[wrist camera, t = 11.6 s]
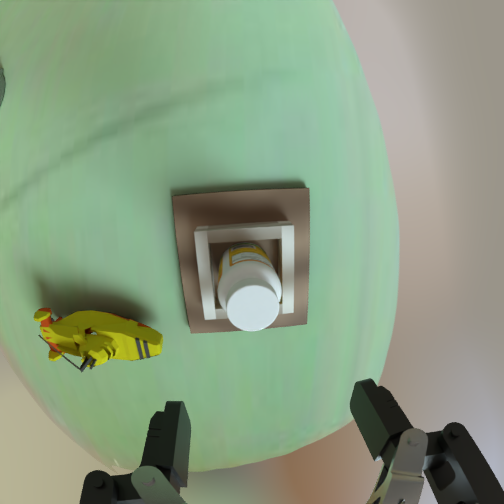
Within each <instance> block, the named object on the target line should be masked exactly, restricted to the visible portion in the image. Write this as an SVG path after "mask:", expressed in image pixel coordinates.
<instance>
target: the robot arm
mask: <svg viewBox="0 0 504 504" xmlns="http://www.w3.org/2000/svg"><path fill="white" fill-rule="evenodd" d="M2 73H3V69H2V68H0V105H1V102H2V99H3V95H4V90H5V80H4V77H3V74H2ZM350 410H351V413H352V415H353V417H354V419H355V421H356V423H357V426H358V428H359V430H360V432H361V434H362V436H363V438H364V440H365V442H366V445H367V447H368V449H369V451H370V453H371V455H372V457H373V459H374V461H377V460H380V459H382V460H383V462H384V463H383V465H382V468H381V471H380V473H379V476H378V479H377V482H376V484H375V487H374V489H373V492H372V494H371V496H370V498H369V499H368V501H367V503H366V504H418V502H419V499H420V496H421V492H422V488H423V484H424V477H422V476H421V474H422V470H423V471H424V474H425V475H426V478H427V480H428V482H429V484H430V487H431V489H432V491H433V493H434V495H435V498H436V500H437V502H438V504H504V491H503V489H502V487H501V485H500V484H499V482H498V480H497V478H496V477H495V475H494V473H493V471H492V470H491V468H490V466H489V464H488V463H487V461H486V459H485V458H484V456H483V455H482V453H481V451H480V450H479V448H478V447H477V445H476V444H475V442H474V440H473V439H472V437H471V436H470V434H469V433H468V431H467V430H466V428H465V427H464V426H463V425H462V424H460V423H457V422H452V423H449V424H447V425H446V426H445V428H444V429H443V430H442V431H437V432H430V433H425V432H424V431H423V430H420V429H417V428H414V427H413V426H412V425H411V424H410V422H409V420H408V419H407V417H406V415H405V414H404V412H403V411H402V409H401V408H400V406H398V403H397V402H396V400H394V397H393V396H392V394H391V393H390V391H389V390H387V389H386V388H384V387H383V386H379V387H377V385H376V384H375V382H374V381H373V380H372V379H371V378H370V379H366V380H362V381H358V382H356V383H355V386H354V390H353V393H352V397H351V400H350ZM190 437H191V424H190V419H189V416H188V413H187V410H186V407H185V404H184V402H183V401H167V402H166V405H165V410H164V412H161V411H157V412H156V413H155V414H154V416H153V417H152V418H151V420H150V424H149V430H148V433H147V437H146V442H145V447H144V452H143V456H142V461H141V464H140V466H139V468H137V469H136V470H135V471H134V472H132V473H130V474H125V475H115V476H110V475H109V474H108V473H106V472H104V471H100V470H95V471H92V472H90V473H89V474H88V475H87V476H86V477H85V480H84V484H83V489H82V494H81V499H80V504H187V503H186V502H185V501H184V500H183V498H182V497H181V496H180V495H179V494H180V487H187V479H188V463H189V450H190Z"/></svg>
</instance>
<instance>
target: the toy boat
mask: <svg viewBox="0 0 504 504" xmlns="http://www.w3.org/2000/svg"><path fill="white" fill-rule="evenodd" d="M51 314H52V312H51V309H50V308H41V309H39V310H38V311H37V312H36V313H35V315H34V320H35V321H38V322H41V325H40V330H41V332H42V335H43V338H42V337H41V336H40V335H38V336H40V337H41V338H42V339H43V340H44V341H45V342H46V343H47V344H48V345H49V347H50V349H51V350H50V351H49V360H51V361H56V360H58V359H59V358H61V357H62V356H63V357H64V358H65V359H66V360H68V361H69V362H70V363H71V364H73V365H74V366H75V367H77V368H78V369H79V370H81V372H83V370H84V369H85V368H86V367H90V369H92V368H93V367H95V366H96V365H100V364H103V363H104V362H106V361H108V360H109V358H110V359H111V358H112V359H121V360H130V361H133V360H138V359H140V360H141V359H144V358H150V357H152V356H156V355H159V354H160V353H161V351H162V344H163V336H162V334H160V333H159V332H158V331H156V330H154V329H152V328H151V327H149V326H147V325H144V324H142V323H139V322H137V321H134V320H132V319H126V318H124V317H121V316H118V315H116V314H113V313H107V312H100V311H92V310H90V311H77V312H75V313H73V314H71V315H69V316H67V317H65V318H63V319H62V317H59V318H58V319H57V320H56V321H54V320H53V318H51V316H50V315H51ZM92 332H96V333H97V335H93V334H91V333H92ZM65 353H68V354H71V355H75V356H80V357H82V358H83V359H82V360H81V361H82V365H81V367H80V368H79V367H78V366H76V365H75V364H74V363H72V362H71V361H70V360H69V359H67V358H66V357H65V356H64V354H65ZM84 356H85V358H84Z"/></svg>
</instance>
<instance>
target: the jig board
mask: <svg viewBox="0 0 504 504" xmlns="http://www.w3.org/2000/svg"><path fill="white" fill-rule="evenodd" d="M172 200H173V211H174V221H175V230H176V239H177V247H178V255H179V263H180V270H181V277H182V284H183V290H184V297H185V303H186V309H187V315H188V320H189V326H190V331H191V333H212V332H229V331H243V330H241V329H239V328H237V327H236V326H234V325H233V324H232V323H231V322H230V320H229V318H228V316H227V313H226V312H225V311H224V309H223V308H222V306H221V305H220V302H219V299H218V275H219V263H220V259H221V257H222V255H223V253H224V252H225V251H226V250H227V249H228V248H229V247H231V246H232V245H234V244H237V243H242V242H247V243H252V244H255V245H257V246H259V247H260V248H262V249H263V250H264V251H265V253H266V254H267V256H268V258H269V260H270V262H271V264H272V266H273V268H274V270H275V272H276V274H277V276H278V278H279V280H280V283H281V288H282V294H281V299H280V302H279V312H278V315H277V317H276V319H275V320H274V321H273V323H271V324H270V325H269V326H268V327H266V328H264V329H267V328H277V327H286V326H295V325H303V324H307V313H308V291H309V253H310V198H309V188H280V189H256V190H238V191H223V192H209V193H197V194H186V195H176V196H172Z"/></svg>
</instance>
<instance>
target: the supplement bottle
mask: <svg viewBox="0 0 504 504" xmlns="http://www.w3.org/2000/svg"><path fill="white" fill-rule="evenodd" d="M281 294H282V288H281V283H280V280H279V278H278V276H277V274H276V272H275V270H274V268H273V266H272V264H271V262H270V260H269V258H268V256H267V254H266V253H265V251H264V250H263V249H262V248H260V247H259V246H257V245H255V244H252V243H247V242H242V243H237V244H234V245H232V246H231V247H229V248H228V249H227V250H226V251H225V252H224V253H223V255H222V257H221V259H220V263H219V275H218V299H219V302H220V305H221V306H222V308H223V309H224V311H225V312H226V313H227V316H228V318H229V320H230V322H231V323H232V324H233V325H234V326H236V327H237V328H239V329H241V330H245V331H258V330H261V329H264V328H266V327H268V326H269V325H270V324H271V323H273V321H274V320H275V319H276V317H277V315H278V312H279V302H280V299H281Z"/></svg>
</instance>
